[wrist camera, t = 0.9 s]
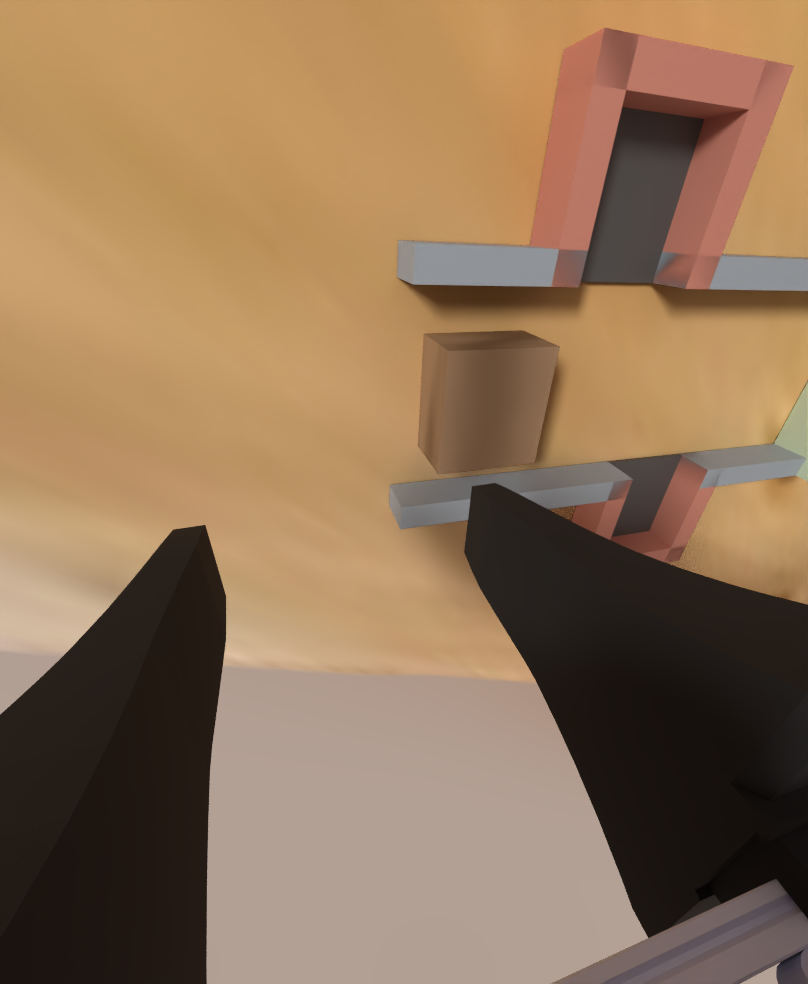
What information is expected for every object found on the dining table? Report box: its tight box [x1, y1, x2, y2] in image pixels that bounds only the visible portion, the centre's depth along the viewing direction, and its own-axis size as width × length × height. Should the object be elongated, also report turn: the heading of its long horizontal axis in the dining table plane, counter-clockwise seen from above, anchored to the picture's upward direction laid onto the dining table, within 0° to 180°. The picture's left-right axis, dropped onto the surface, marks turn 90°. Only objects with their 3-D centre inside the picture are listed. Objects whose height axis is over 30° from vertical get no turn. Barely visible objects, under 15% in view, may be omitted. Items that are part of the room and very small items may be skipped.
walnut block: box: [418, 331, 560, 474], centre depth 18 cm, size 4×5×3 cm
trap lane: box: [389, 28, 808, 563], centre depth 21 cm, size 26×22×3 cm
